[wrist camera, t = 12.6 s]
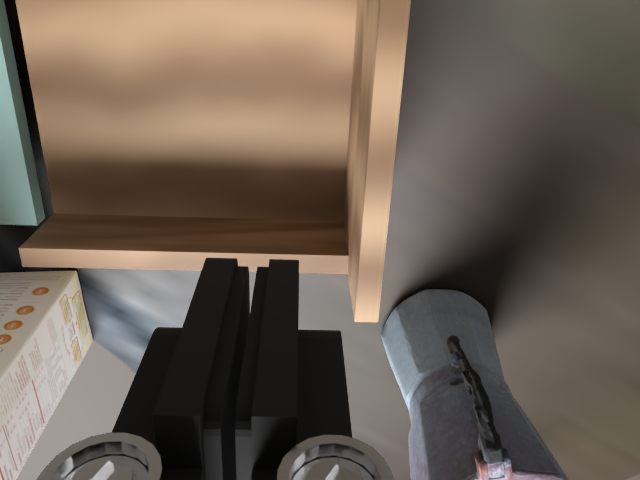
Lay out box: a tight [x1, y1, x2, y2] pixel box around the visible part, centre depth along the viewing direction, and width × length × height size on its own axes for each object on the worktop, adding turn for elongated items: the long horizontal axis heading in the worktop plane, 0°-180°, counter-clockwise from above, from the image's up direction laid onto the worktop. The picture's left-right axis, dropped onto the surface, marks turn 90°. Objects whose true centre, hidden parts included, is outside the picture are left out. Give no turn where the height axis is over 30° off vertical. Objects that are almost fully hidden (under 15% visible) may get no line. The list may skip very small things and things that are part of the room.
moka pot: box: [381, 289, 568, 480], centre depth 37 cm, size 10×15×20 cm, turn 17°
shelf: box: [15, 0, 411, 322], centre depth 30 cm, size 23×20×14 cm
